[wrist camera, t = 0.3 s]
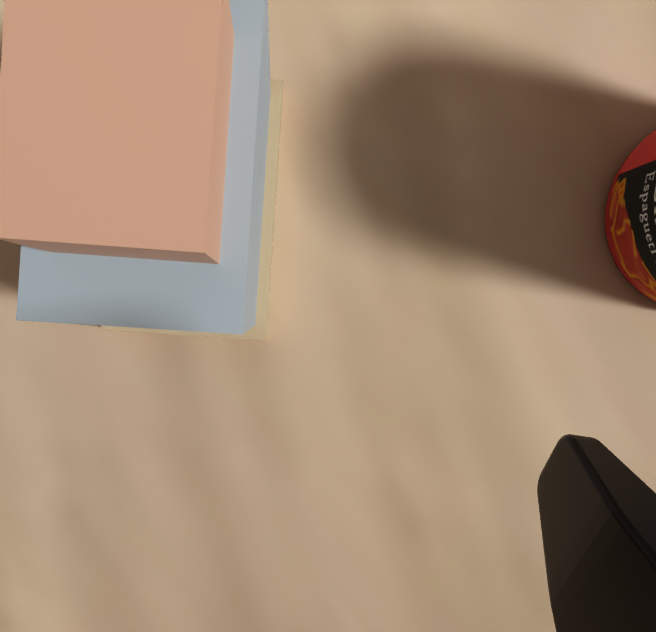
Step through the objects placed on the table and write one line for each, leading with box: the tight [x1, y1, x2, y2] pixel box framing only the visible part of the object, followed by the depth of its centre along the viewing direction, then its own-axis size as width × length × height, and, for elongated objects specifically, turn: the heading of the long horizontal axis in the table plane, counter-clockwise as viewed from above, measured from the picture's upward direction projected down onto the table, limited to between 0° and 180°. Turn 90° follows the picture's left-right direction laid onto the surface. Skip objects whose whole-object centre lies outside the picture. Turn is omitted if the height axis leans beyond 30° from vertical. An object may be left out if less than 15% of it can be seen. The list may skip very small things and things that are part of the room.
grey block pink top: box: [0, 0, 283, 340], centre depth 17 cm, size 9×6×12 cm, turn 176°
